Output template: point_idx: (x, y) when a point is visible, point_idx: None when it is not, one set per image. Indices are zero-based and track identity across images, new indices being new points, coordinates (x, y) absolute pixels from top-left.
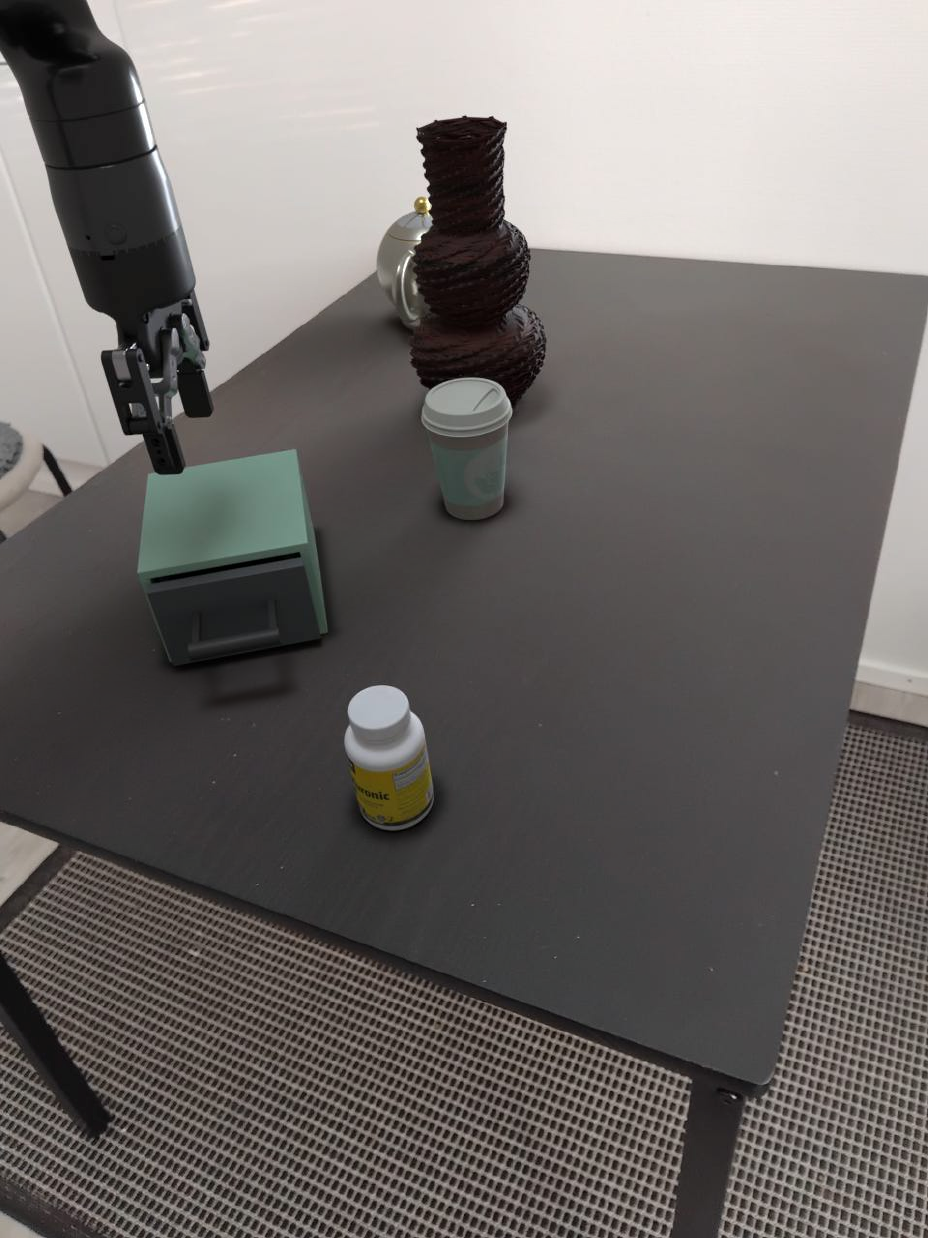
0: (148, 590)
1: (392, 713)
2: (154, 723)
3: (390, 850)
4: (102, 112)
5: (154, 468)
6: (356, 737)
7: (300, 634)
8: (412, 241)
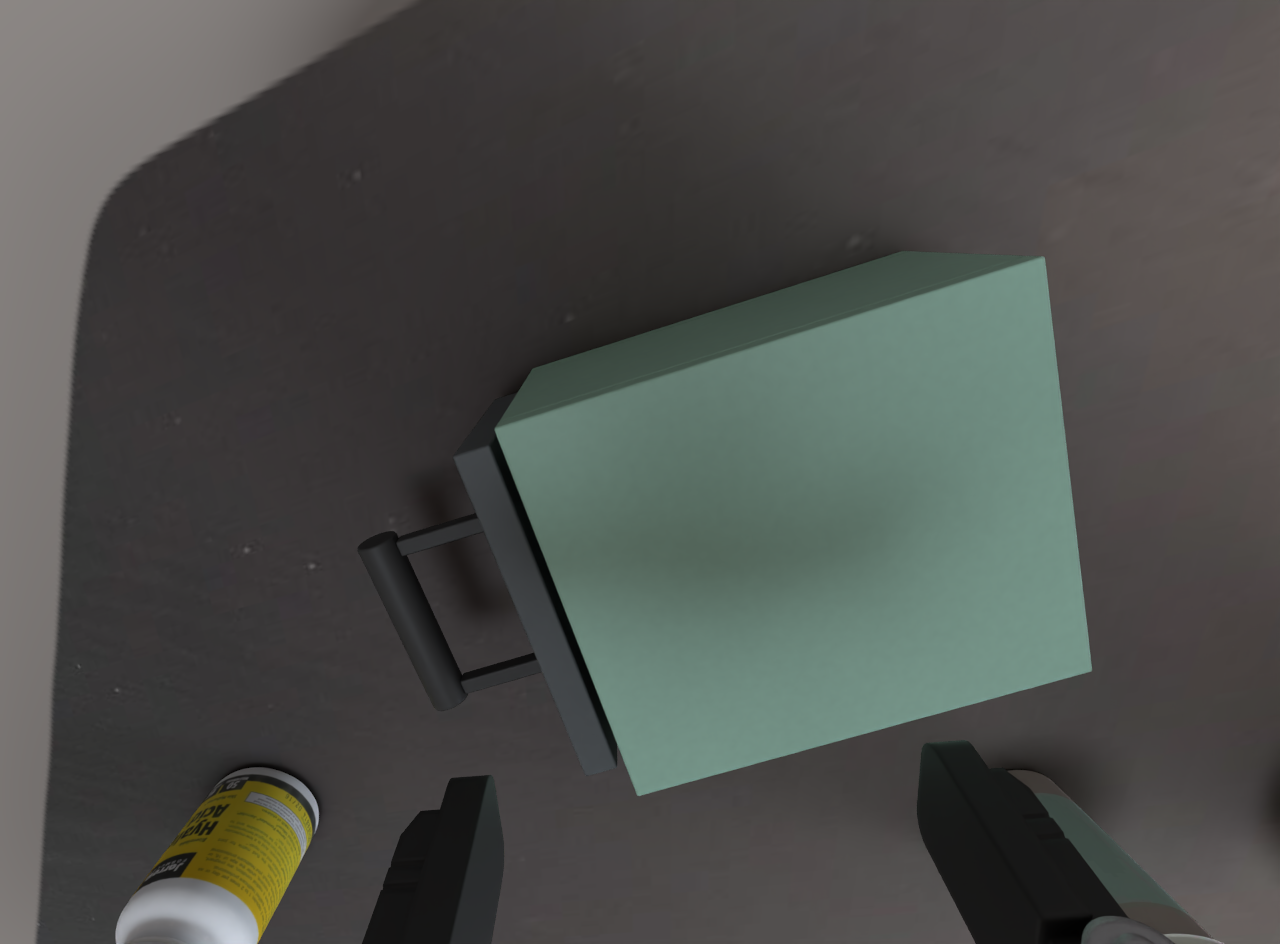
0: (464, 457)
1: None
2: (360, 398)
3: (186, 810)
4: None
5: (447, 792)
6: (140, 928)
7: None
8: None
